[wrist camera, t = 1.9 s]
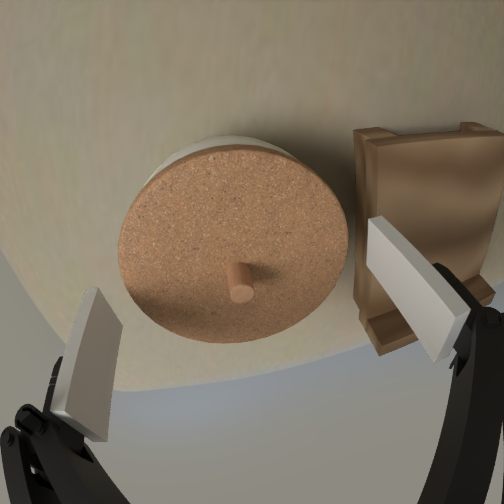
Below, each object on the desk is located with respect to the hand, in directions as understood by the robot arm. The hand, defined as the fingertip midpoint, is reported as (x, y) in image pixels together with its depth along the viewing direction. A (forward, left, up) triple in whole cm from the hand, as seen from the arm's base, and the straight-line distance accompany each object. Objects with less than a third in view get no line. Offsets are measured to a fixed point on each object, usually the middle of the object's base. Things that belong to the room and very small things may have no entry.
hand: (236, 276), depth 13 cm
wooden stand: (+5, +16, -8) cm, 18 cm away
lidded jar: (0, 0, -8) cm, 8 cm away
